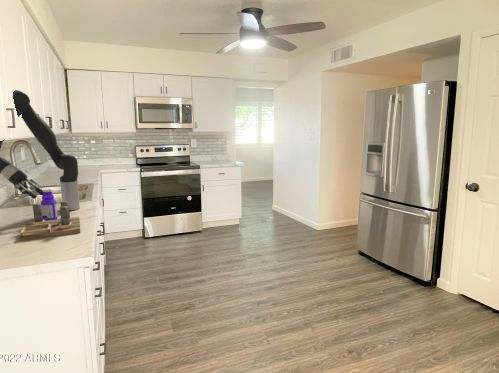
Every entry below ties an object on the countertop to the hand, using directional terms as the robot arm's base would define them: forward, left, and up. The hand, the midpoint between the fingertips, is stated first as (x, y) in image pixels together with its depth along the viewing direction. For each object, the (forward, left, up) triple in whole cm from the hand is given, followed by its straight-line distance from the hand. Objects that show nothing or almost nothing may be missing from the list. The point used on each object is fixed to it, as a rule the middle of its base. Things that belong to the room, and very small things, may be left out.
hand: (39, 195), depth 180 cm
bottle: (+2, +4, -14) cm, 14 cm away
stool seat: (+21, +6, -14) cm, 26 cm away
